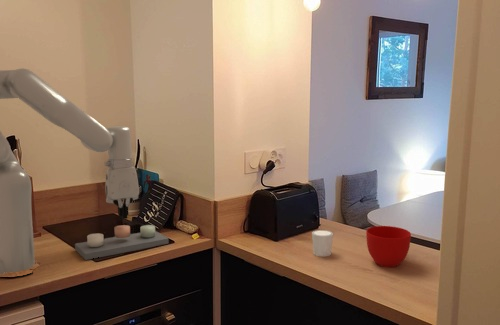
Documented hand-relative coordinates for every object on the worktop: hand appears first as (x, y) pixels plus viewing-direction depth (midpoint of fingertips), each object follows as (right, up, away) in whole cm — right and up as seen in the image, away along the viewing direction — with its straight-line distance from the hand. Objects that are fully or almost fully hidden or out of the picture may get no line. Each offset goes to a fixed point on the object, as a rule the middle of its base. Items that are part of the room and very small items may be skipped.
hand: (123, 217), depth 153 cm
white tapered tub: (+66, -11, -5) cm, 67 cm away
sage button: (+7, -7, +6) cm, 11 cm away
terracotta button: (-1, -6, +1) cm, 6 cm away
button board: (-1, -10, +1) cm, 10 cm away
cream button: (-8, -8, -4) cm, 12 cm away
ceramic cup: (+86, -12, -11) cm, 87 cm away
